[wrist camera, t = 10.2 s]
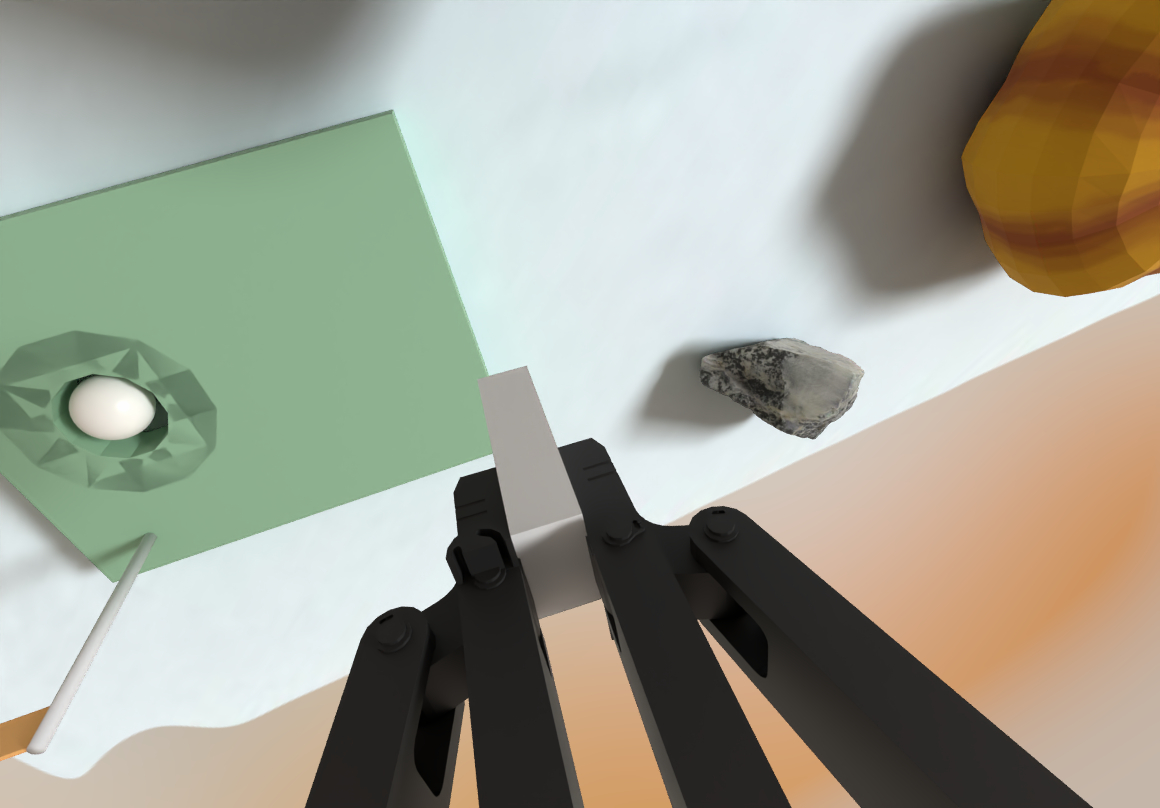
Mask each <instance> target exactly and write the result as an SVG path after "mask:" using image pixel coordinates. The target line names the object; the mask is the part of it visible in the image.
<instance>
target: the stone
mask: <svg viewBox="0 0 1160 808" xmlns="http://www.w3.org/2000/svg"><path fill="white" fill-rule="evenodd" d="M863 375H864V370H862V369H861V367H859V366H858V365H856V363H855V362H854V361H852V360H850V359H849V358H847V357H844V356H842V355H840V354H836V353H832V352H829V351H827V350H824V349H822V348H821V347H816V346H811V345H809V344H807V343H806V342H804V341H801V340H798V339H795V338H794V339H791V338H783V339H775V340H769V341H764V342H760V343H757V344H754V345H751V346H746V347H743V348H735V349H731V350H727V351H724V352H717V353H713V354H711V355H707V356H705V357H704V358H702V362H701V367H700V378H701V382H702V383H703V384H704V385H705V386H707V387H709V388H711V389H713V390H715V391H718V392H719V393H721V394H723V395H726V396H729V397H730V398H732V400H733V401H735V402H737V403H739V404H741V405H742V406H744V407H746V408H749V409H752V410H753V413H754V414H755V415H756V416H757V417H759V418H761V419H762V420H763V421H765V422H766V423H768V424H770V425H772V426H774V427H775V428H777V429H778V430H780V431H783V432H785V433H787V434H790V435H796V436H798V437H801V438H807V437H808V438H811V439H816V438H817V436H818V435H820V434H821V433H822V432H823V431H824V429H825V428H826V427H827V426H828V425H829V424H830V423H831V422H834V421H836V420H837V419H839V418H840V417H841V416H843V415H844V413H845V412H846V411H848V410H849V409H850V408H851V407H852V405H853V403H854V401H855V399H856V397H857V391H858V389H859V388H858V386H859V383H860V380H861V378H862V377H863Z"/></svg>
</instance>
